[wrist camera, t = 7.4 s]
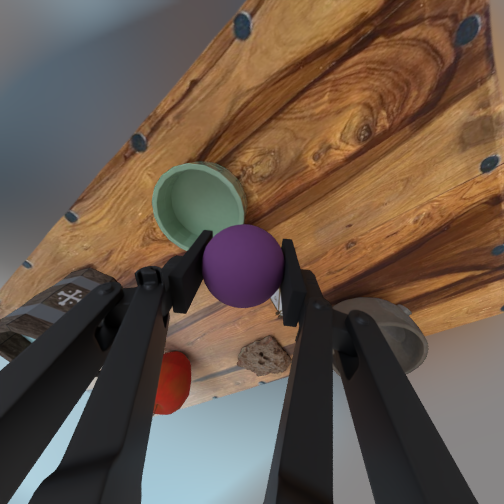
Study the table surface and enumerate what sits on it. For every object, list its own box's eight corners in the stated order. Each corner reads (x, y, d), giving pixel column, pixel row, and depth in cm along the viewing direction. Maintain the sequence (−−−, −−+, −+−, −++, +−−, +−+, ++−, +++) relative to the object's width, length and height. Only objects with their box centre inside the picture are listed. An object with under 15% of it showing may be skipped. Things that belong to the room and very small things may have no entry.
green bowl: (165, 156, 29) (144, 157, 24) (251, 166, 29) (248, 170, 24) (173, 235, 35) (159, 248, 31) (243, 244, 35) (240, 259, 30)
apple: (206, 352, 53) (187, 414, 40) (191, 371, 58) (171, 431, 46) (164, 335, 50) (130, 396, 38) (152, 357, 56) (120, 416, 43)
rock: (271, 331, 47) (271, 345, 44) (297, 359, 52) (299, 374, 48) (226, 350, 51) (224, 364, 48) (254, 374, 56) (253, 388, 53)
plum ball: (213, 209, 15) (184, 242, 10) (287, 217, 15) (299, 255, 10) (213, 270, 18) (191, 321, 13) (276, 278, 18) (279, 332, 13)
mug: (58, 286, 44) (-30, 344, 31) (85, 256, 39) (-5, 311, 26) (129, 332, 51) (81, 396, 38) (159, 312, 46) (116, 377, 33)
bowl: (398, 276, 36) (439, 316, 28) (394, 335, 44) (426, 381, 36) (308, 293, 40) (319, 333, 31) (320, 345, 48) (332, 389, 39)
